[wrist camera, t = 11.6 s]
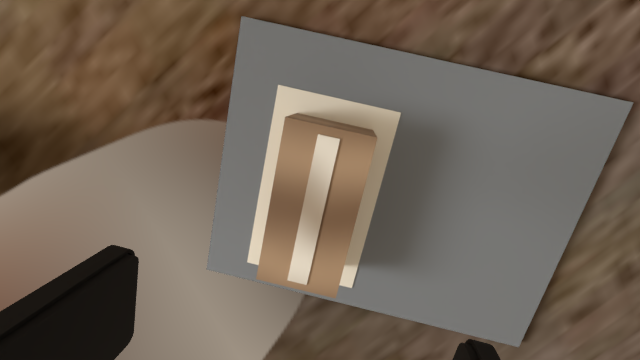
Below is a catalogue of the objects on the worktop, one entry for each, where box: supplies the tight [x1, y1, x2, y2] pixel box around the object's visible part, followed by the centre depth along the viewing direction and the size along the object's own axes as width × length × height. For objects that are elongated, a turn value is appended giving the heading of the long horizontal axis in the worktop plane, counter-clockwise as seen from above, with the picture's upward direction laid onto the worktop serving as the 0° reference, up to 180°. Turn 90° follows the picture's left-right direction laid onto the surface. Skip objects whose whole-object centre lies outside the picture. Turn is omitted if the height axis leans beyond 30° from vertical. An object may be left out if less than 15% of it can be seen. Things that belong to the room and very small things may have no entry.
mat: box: [207, 16, 633, 347], centre depth 22 cm, size 24×18×1 cm
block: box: [256, 113, 378, 298], centre depth 20 cm, size 10×5×4 cm, turn 168°
